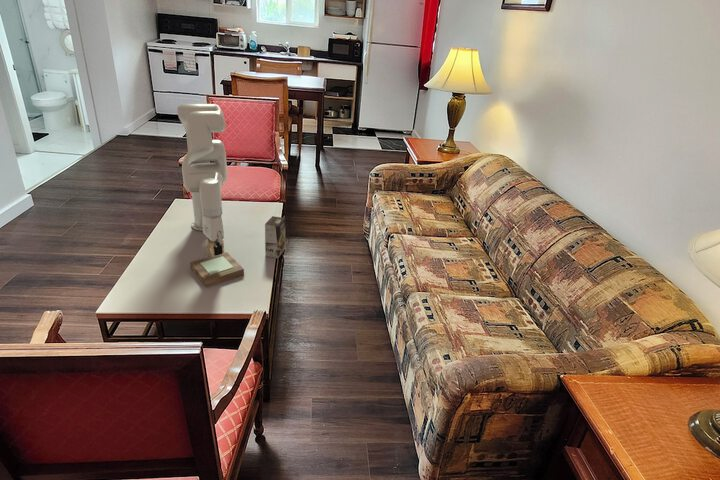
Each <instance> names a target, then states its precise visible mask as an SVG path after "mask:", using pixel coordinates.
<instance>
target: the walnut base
mask: <svg viewBox="0 0 720 480" xmlns="http://www.w3.org/2000/svg"><path fill="white" fill-rule="evenodd" d="M189 265H190V270H191V271H192V272H193V273H194V274H195V276H197V278H198V279H199V280H200V282H202V285H204V286H205V288H208V287H213V286H215V285H217V284H220V283H221V284H222V283H224V282H227V281H231V280H234V279H237V278H239V277H243V276H244V275H245V269H244V267H243V266H241V264H240V263H239V262H237V261H236V259H234V258H233V257H232V256H231V254H230V253H229V252H227V251H226V252H225V251H224V254H221V255H217V256H214V257H212V256H211V255H210V256H208V257H203V258H201V259H197V260H193V261H190V262H189Z"/></svg>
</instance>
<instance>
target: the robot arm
mask: <svg viewBox="0 0 720 480" xmlns="http://www.w3.org/2000/svg"><path fill="white" fill-rule="evenodd" d="M176 110H177V111H176V112H177V116H178V119H179V120H180V123H181V125H182V126H183V128H184V130H185V136H186V143H187V153H186V154H185V156H184V157H183V160H182V164H181V171H182V172H181V173H182V180H183V185H184V189H185V190H186V191H187V192H189V193H190V194H191V200H192V209H193V217H194V218H193V219H194V220H193V221H192V222H191V228H192V229H193V230H196V231H199V232H202V233H203V234H204V235H205V237H206V238H209V239H210V240H211V241H212V242H214V245H215V246H214V255H215V256H216V255H220V254H223V250H222V244H223V243H225V242H224V240H223V239H224V238H225V234H224V233H225V232H224V224H223V218H222V215H223V204H222V202H223V201H222V187H223V185H224V183H225V182H226V181H227V179H228V167H227V165H228V164H227V153H226V148H225V144H224V142H223V141H222V140H220V139H213V136H212V135H213V134H212V133H223V132H224V131H225V130H226V125H227V124H226V119H225V115H224V112H223V110H222V108H221V106H220V105H218V104H217V103H183V104H179V105H178V106H177V108H176ZM194 162H202V163H194ZM217 237H218V238H217ZM218 240H219V242H218V243H216V241H218Z"/></svg>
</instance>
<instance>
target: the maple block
mask: <svg viewBox="0 0 720 480" xmlns="http://www.w3.org/2000/svg"><path fill="white" fill-rule="evenodd" d="M217 238H218V237H217ZM205 240H206V242H205V244H206V252H207V253H208V254H209V255H210V256H212V257H214V256H215V255H214V246H215V245H214V242H212V241H211V240H210V239H209V238H207V237H206V238H205ZM218 242H219V240H218V241H216V243H218ZM224 243H225V242H224ZM224 243H223V244H222V250H223V254H224V252H225V246H224ZM220 255H221V254H220ZM216 256H217V255H216Z"/></svg>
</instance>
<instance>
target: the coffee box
mask: <svg viewBox="0 0 720 480" xmlns="http://www.w3.org/2000/svg"><path fill="white" fill-rule="evenodd" d="M264 244H265V246H264V249H265V250H264V251H265V257H270V258H274V259H279V258H280V257H281V255H282V254H283V252H284V251H285V250H286V217H280V216H271V217H270V218H269V219H268V220H267V221H266V223H265V224H264Z"/></svg>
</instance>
